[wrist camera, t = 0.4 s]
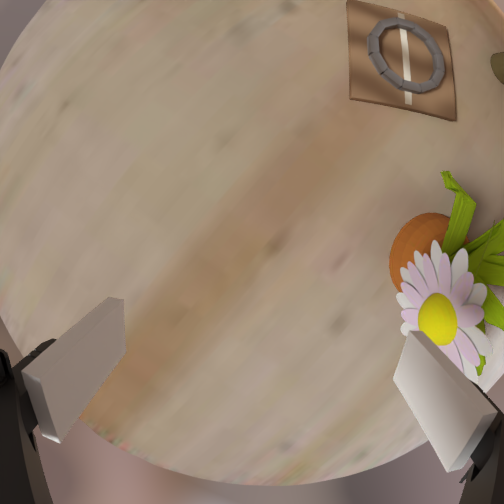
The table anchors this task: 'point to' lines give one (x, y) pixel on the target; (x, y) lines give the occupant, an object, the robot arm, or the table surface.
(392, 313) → the table surface
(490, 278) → the decorative plant
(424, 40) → the socket board
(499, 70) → the olive round stacked cylinder
